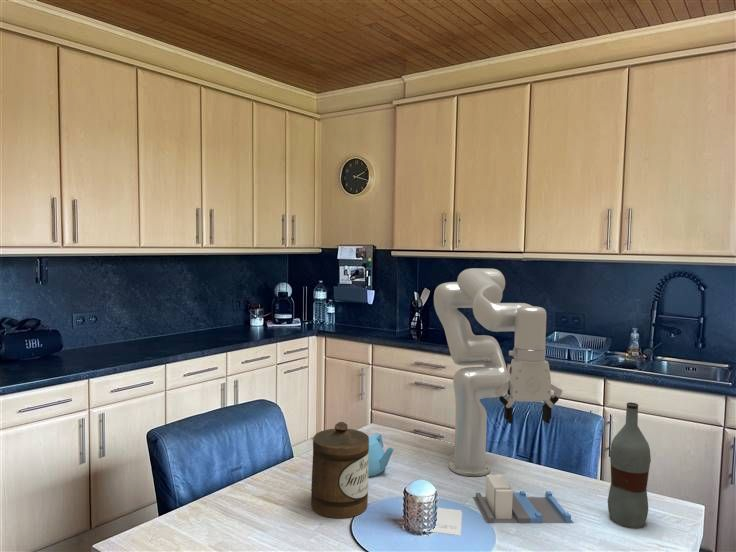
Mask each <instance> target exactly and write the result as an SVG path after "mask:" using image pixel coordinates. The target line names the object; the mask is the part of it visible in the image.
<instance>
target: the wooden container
mask: <svg viewBox="0 0 736 552" xmlns="http://www.w3.org/2000/svg"><path fill="white" fill-rule="evenodd" d="M348 427H349V425H348V424H347V423H346V422H343V421H339V422H337V423H336V424H335V425H334V428H329V429H323V430H321V431H319V432H317V433H315V434H314V436H313V442H312V467H311V468H312V469H311V471H312V472H311V494H310V495H311V496H310V497H311V499H310V505H311V508H312V510H313V511H314V512H315V513H316V514H318V515H320V516H322V517H326V518H332V519H349V518H353V517H356V516H358V515H361V514H363V513H364V512H365V511H366V510H367V508H368V500H369V499H368V498H369V477H368V474H369V473H368V462H369V437H370V436H369V437H368V435H369V434H368V435H367V433H366V432H363V431H360V430H357V429H354V428H353V429H352V428H348Z"/></svg>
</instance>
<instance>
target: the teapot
mask: <svg viewBox="0 0 736 552" xmlns="http://www.w3.org/2000/svg"><path fill="white" fill-rule="evenodd" d="M366 434H367V433H366ZM367 435H368V437H369V462H368V473H369V474H368V478H371V477H375V476H379V475H380V474H381V473H382V472H383V471H384V470H385V468H386V467H387V466H388V463H389V461H390V459H391V456H392V455H393V452H394V447H390V446H389V447H387V449H386V450H384V443H383V437H382V436H383V435H382V434H381V433H379V432H376V433H374V434H373V435H372V436H370V435H369V434H367Z"/></svg>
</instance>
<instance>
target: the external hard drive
mask: <svg viewBox="0 0 736 552" xmlns="http://www.w3.org/2000/svg"><path fill="white" fill-rule="evenodd" d="M437 508H438V509H437V521H436V526H435V528H434V529H432V530H430V531H427V530H426V533H425V534H426V536H430V535H429V533H432V534H433V533H435V534H442V535H449V536H450V535H451V536H459V537H461V536H462V523H463V522H462V521H463V520H462V519H463V511H462V510H461V509H453V508H451V509H450V508H444V507H437Z"/></svg>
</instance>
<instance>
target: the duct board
mask: <svg viewBox="0 0 736 552" xmlns="http://www.w3.org/2000/svg"><path fill="white" fill-rule="evenodd" d="M472 499H473V500H474V502H475V504H476V506H477V508H478V511H479V512H480V514H481V516H482V518H483V520H484V522H485V524H574V523H575V522H574V521H573V519H572V516H571V514H570V513H569V512H568V511H565V509H564V508H563V507H562V505H560V503H559V502H558V501H557V500H556V499H555V498H554V496H553V492H551V490H545V493H544V496H534V497H533V496H527V493H526V492H525V491H524V490H519V492H513V498H512V519H496V518H495V517H494V515H493V513H492V511H491V509H490V507H489V506H488V504H487V502H486V496H482V494H481V492H475V496H472Z"/></svg>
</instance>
